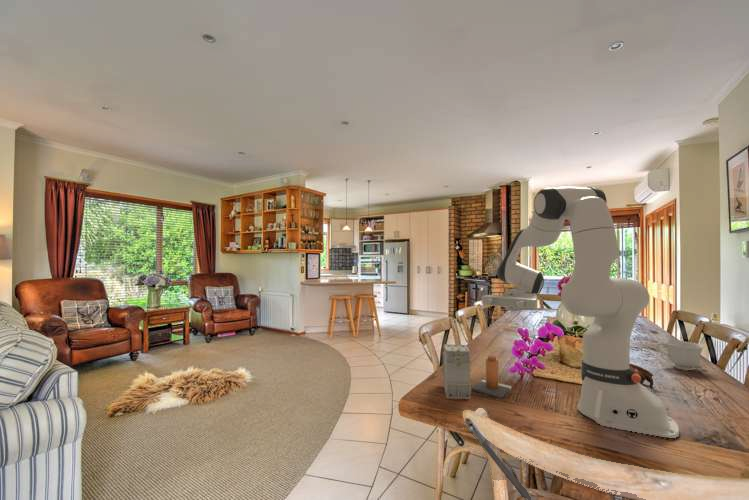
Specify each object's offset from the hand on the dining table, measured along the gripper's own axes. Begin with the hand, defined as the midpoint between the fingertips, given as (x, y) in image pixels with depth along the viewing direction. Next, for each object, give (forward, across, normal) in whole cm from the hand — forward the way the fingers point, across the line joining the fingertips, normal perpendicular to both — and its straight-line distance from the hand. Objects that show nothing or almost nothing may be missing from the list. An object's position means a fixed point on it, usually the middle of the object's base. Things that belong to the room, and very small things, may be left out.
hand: (502, 303), depth 123 cm
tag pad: (+12, 0, +28) cm, 31 cm away
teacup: (-59, +52, +28) cm, 84 cm away
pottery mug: (-23, +38, +28) cm, 53 cm away
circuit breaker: (+20, -10, +28) cm, 36 cm away
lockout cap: (+12, 0, +27) cm, 30 cm away
